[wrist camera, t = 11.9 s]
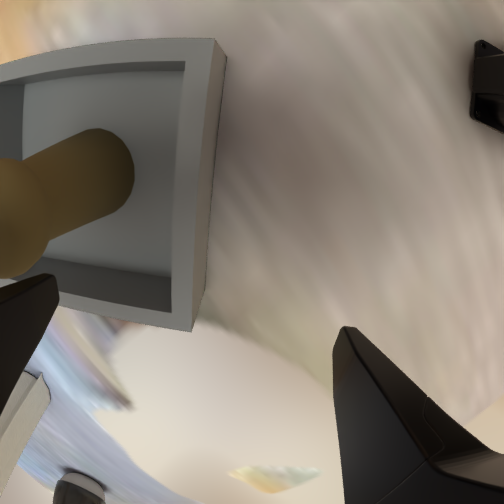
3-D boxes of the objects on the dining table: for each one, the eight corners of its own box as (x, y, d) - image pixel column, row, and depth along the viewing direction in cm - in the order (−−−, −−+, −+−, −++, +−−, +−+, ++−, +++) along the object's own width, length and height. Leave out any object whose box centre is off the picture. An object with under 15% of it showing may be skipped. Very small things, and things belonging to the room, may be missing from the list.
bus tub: (227, 57, 17) (214, 38, 12) (204, 289, 23) (191, 332, 19) (24, 72, 16) (-20, 71, 12) (31, 260, 23) (-3, 288, 18)
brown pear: (46, 174, 19) (-69, 229, 9) (94, 109, 17) (-38, 125, 7) (99, 233, 20) (1, 324, 10) (153, 173, 19) (48, 241, 9)
